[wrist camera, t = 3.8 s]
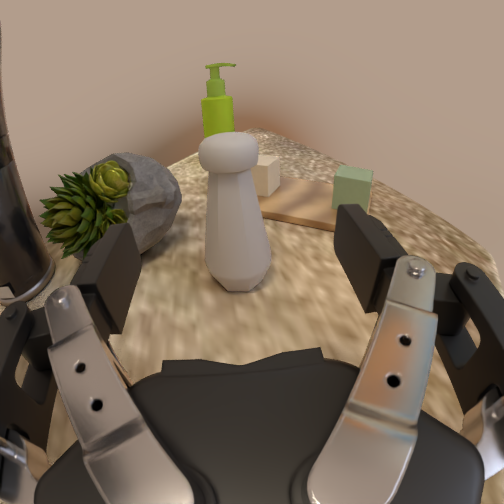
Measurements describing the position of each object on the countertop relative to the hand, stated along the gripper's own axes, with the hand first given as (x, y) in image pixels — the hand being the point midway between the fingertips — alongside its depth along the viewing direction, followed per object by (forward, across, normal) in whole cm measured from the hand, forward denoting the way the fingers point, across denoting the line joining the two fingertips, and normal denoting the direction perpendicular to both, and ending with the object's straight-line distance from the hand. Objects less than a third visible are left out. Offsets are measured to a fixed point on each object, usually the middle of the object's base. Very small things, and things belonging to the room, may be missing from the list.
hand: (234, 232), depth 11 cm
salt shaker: (+11, 0, +12) cm, 16 cm away
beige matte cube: (+29, -4, +10) cm, 31 cm away
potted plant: (+16, +13, +12) cm, 24 cm away
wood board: (+25, -9, +12) cm, 29 cm away
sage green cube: (+22, -15, +11) cm, 29 cm away
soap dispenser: (+47, +2, +12) cm, 48 cm away
